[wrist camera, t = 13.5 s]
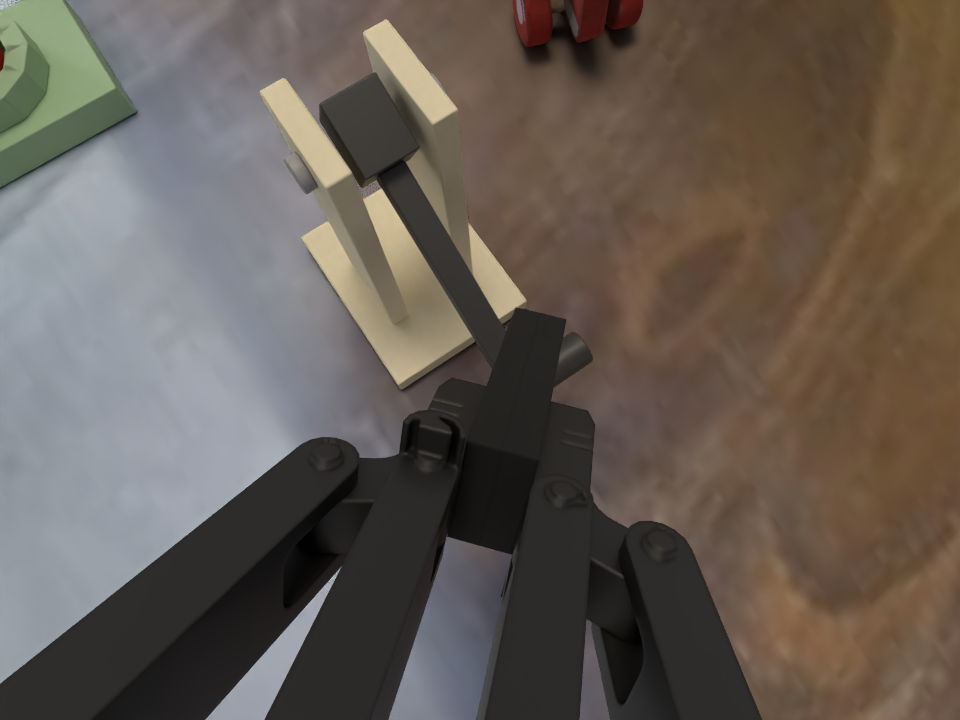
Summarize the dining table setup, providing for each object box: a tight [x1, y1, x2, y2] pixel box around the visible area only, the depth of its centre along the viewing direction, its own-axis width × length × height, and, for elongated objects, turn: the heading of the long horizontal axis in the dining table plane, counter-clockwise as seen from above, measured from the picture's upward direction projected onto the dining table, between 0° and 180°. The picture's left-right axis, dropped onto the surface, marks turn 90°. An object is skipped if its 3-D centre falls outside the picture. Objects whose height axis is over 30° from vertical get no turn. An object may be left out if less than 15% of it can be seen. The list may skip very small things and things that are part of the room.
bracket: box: [260, 19, 527, 389], centre depth 28 cm, size 10×8×15 cm
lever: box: [319, 72, 593, 388], centre depth 24 cm, size 13×6×2 cm, turn 34°
